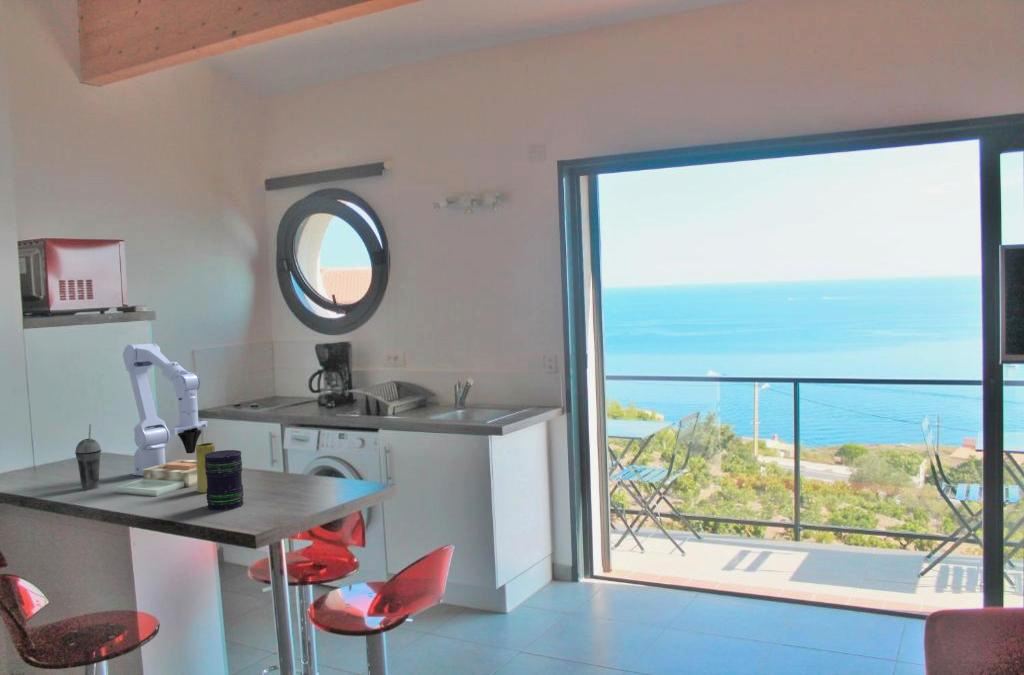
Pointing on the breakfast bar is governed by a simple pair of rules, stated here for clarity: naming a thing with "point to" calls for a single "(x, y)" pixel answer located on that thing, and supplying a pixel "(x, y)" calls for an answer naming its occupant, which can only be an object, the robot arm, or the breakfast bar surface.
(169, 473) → the block
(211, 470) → the storage jar
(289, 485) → the breakfast bar surface
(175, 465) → the slab
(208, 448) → the vase
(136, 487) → the tray
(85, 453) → the beverage cup
